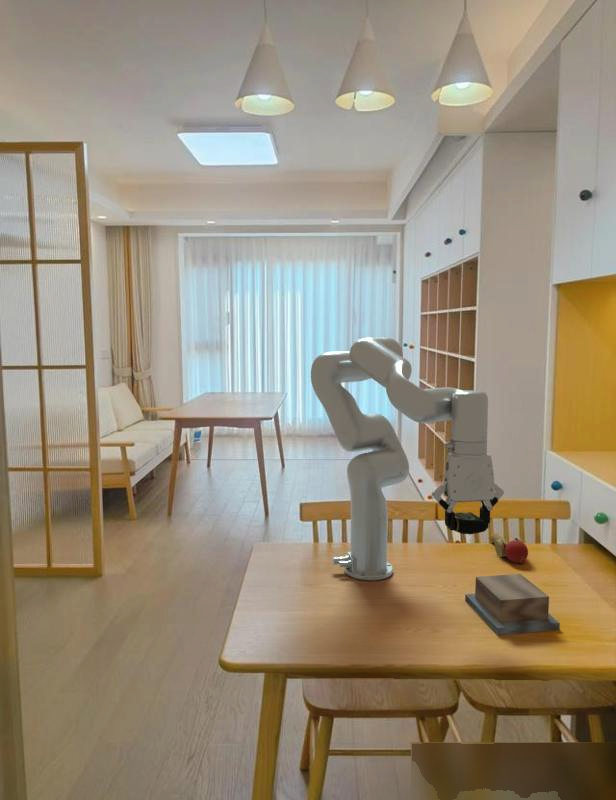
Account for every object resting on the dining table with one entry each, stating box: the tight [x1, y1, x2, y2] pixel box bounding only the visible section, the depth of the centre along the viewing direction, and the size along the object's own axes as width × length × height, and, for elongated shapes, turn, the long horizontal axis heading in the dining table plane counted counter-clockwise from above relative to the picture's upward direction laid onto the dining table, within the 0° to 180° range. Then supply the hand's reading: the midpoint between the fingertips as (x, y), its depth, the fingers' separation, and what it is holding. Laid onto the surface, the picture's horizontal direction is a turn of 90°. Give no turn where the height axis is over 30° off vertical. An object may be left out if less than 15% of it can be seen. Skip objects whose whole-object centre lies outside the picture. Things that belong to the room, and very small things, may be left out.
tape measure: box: [453, 511, 487, 535], centre depth 129 cm, size 7×7×4 cm
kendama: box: [489, 532, 529, 564], centre depth 166 cm, size 8×6×18 cm
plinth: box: [464, 573, 561, 636], centre depth 130 cm, size 14×16×6 cm
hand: (467, 527), depth 129 cm, fingers closed on tape measure, 7 cm apart
